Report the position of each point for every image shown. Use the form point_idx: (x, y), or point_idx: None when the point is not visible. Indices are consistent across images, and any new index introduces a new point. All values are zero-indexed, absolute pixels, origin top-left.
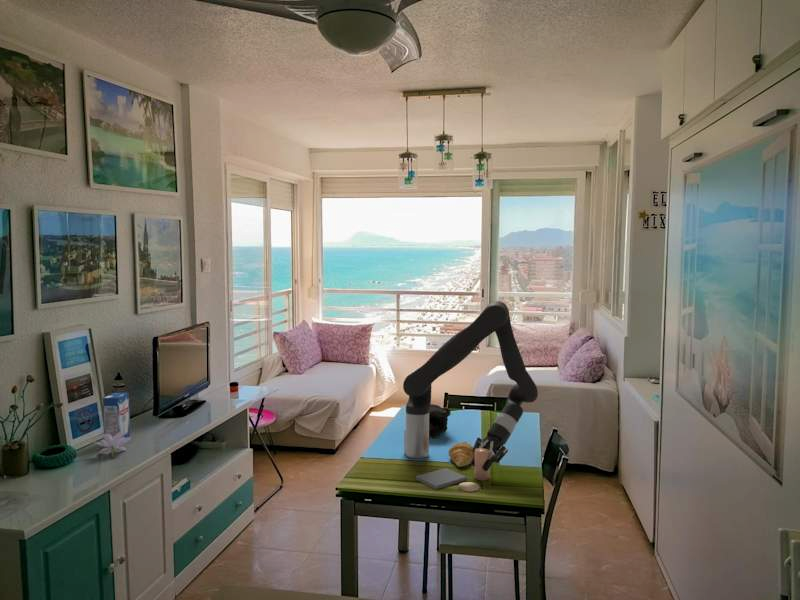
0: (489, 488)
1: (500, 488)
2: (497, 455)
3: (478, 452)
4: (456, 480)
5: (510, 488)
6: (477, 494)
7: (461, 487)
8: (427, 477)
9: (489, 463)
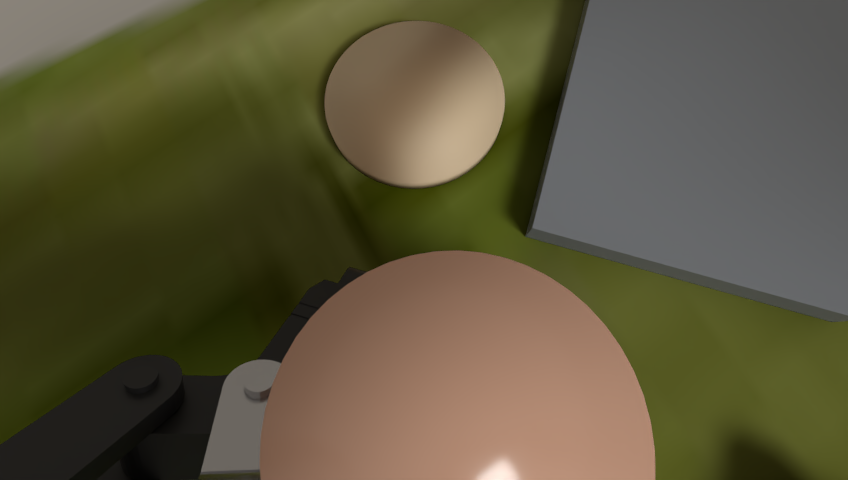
0: (262, 193)
1: (178, 250)
2: (40, 425)
3: (452, 251)
4: (561, 113)
5: (97, 306)
6: (293, 35)
7: (447, 36)
8: (794, 6)
9: (275, 341)
